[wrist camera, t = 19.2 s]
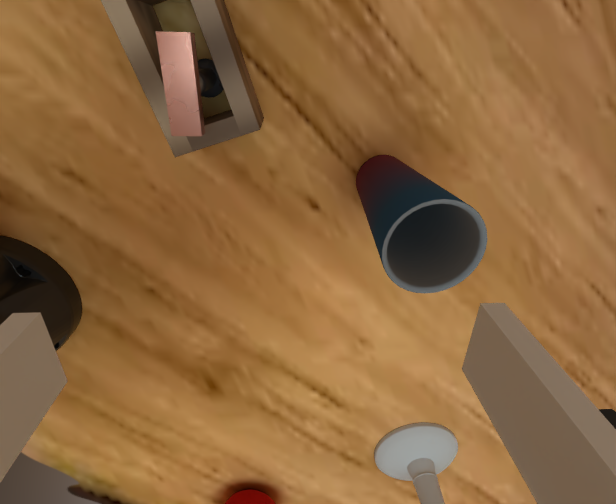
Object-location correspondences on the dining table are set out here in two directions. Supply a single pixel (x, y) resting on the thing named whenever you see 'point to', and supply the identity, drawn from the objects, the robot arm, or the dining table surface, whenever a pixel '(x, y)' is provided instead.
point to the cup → (419, 227)
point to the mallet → (186, 82)
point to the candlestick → (418, 457)
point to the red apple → (250, 498)
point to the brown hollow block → (226, 56)
